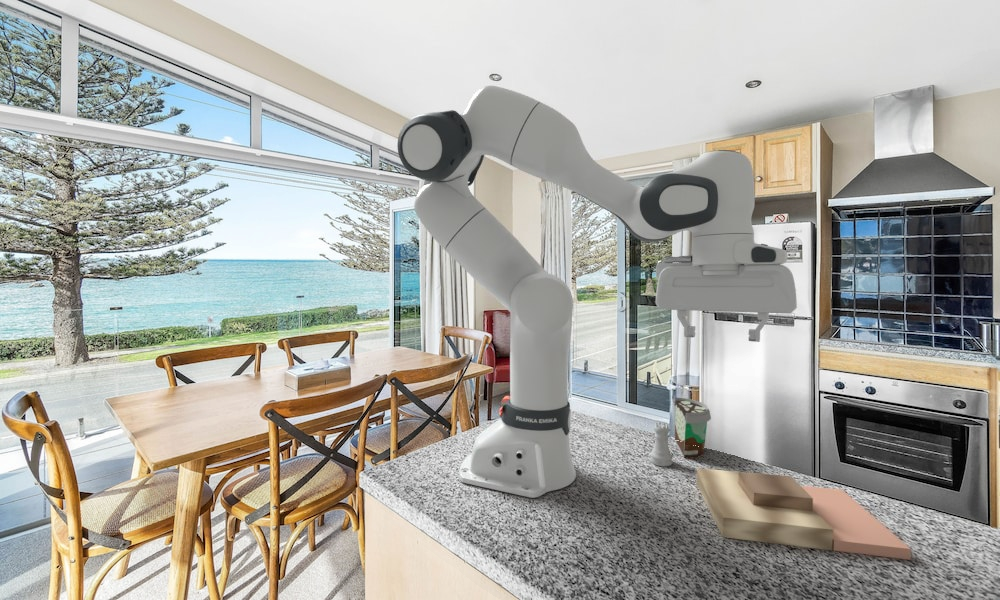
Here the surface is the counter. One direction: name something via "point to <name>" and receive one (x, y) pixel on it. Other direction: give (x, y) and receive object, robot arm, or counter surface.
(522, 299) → the robot arm
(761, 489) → the walnut tile
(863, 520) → the salmon pink pad
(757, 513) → the oak board
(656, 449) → the rook chess piece
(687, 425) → the food container
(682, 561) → the counter surface
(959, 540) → the counter surface
